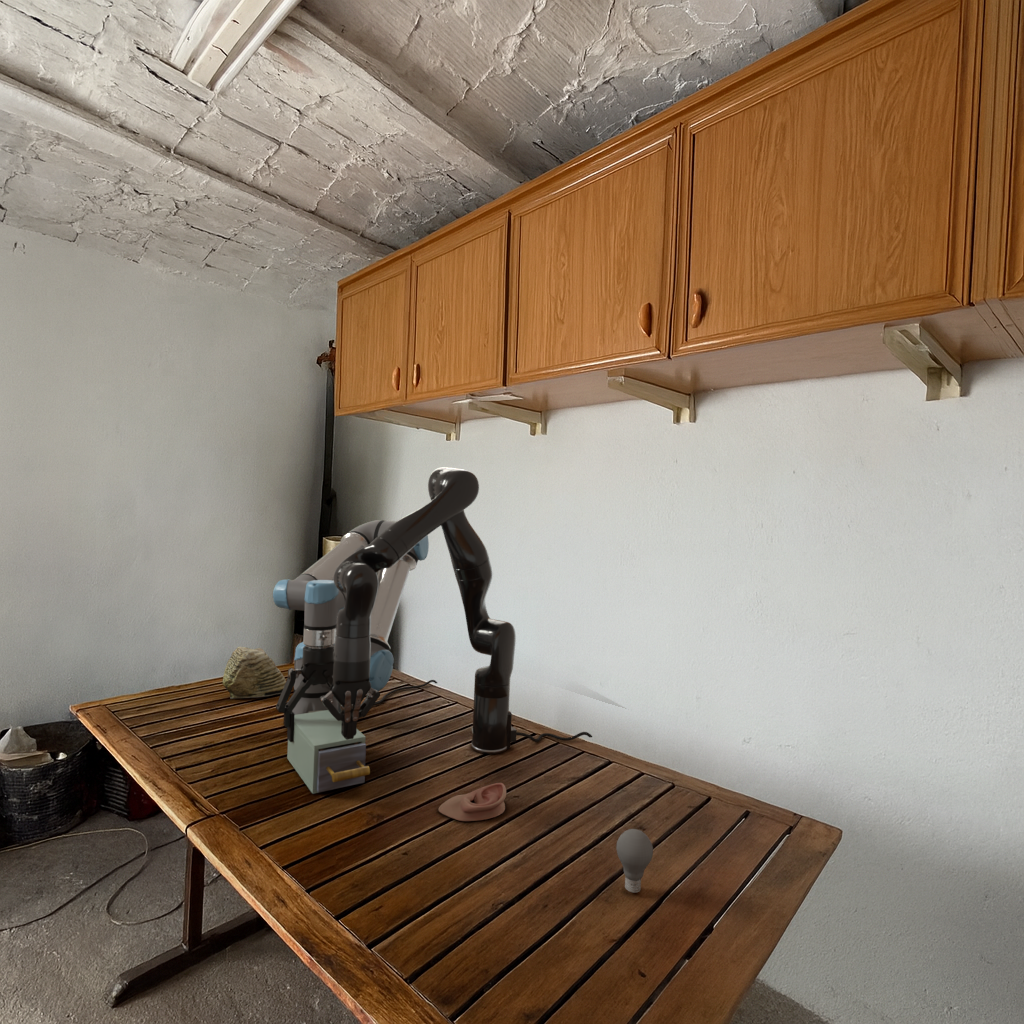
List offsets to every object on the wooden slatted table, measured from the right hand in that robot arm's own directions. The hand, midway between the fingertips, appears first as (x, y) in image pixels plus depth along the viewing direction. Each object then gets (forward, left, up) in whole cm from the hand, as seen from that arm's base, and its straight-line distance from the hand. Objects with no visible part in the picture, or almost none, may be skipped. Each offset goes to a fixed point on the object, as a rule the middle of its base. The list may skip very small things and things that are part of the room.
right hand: (348, 737), depth 134 cm
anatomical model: (-23, +14, -13) cm, 30 cm away
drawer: (+2, -10, -12) cm, 15 cm away
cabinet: (+2, -15, -13) cm, 20 cm away
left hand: (+3, -22, -7) cm, 23 cm away
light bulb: (-38, +49, -13) cm, 63 cm away
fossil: (+14, -78, -13) cm, 80 cm away
